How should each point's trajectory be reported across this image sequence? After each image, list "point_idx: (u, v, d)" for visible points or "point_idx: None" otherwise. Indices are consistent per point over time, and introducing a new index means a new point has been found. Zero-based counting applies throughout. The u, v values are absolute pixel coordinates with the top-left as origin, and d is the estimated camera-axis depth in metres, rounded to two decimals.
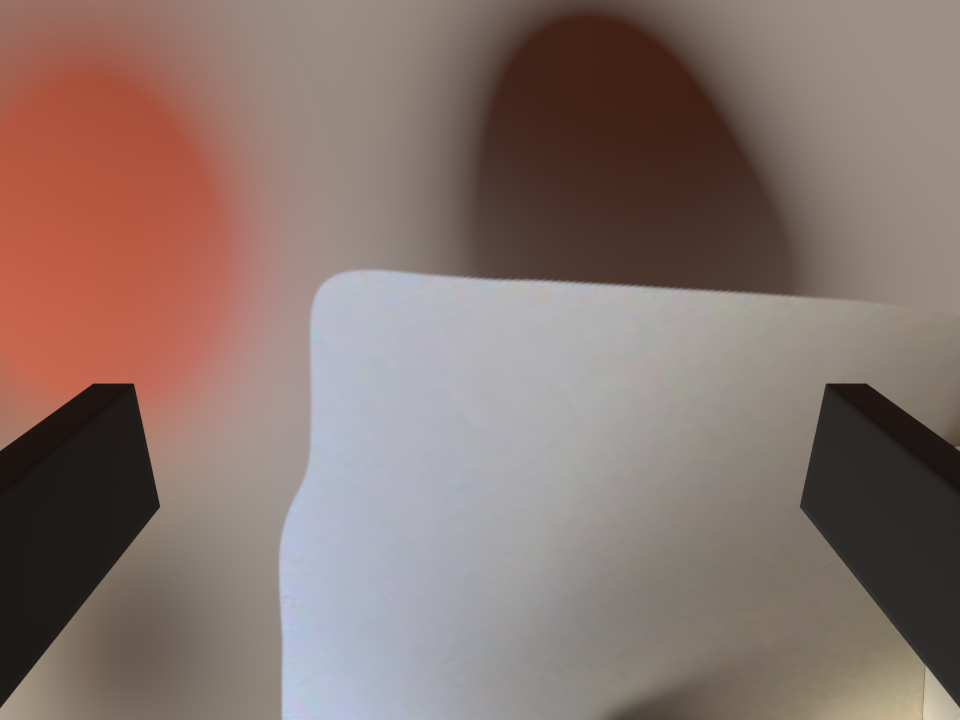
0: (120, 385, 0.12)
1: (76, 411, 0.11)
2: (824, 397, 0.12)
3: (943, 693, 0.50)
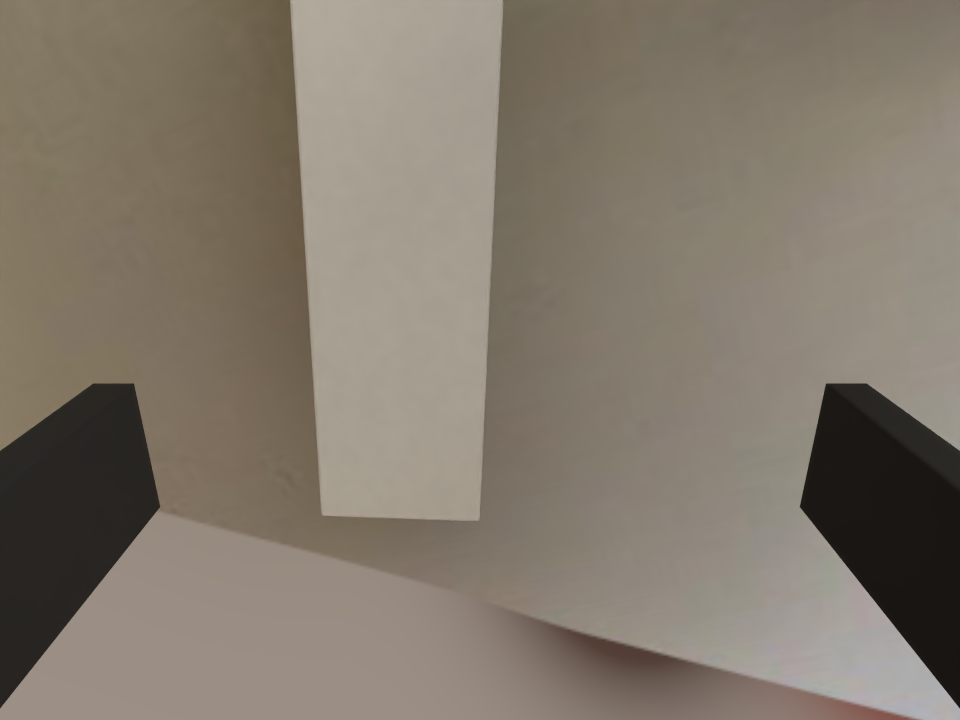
0: (120, 385, 0.12)
1: (76, 411, 0.11)
2: (824, 397, 0.12)
3: None
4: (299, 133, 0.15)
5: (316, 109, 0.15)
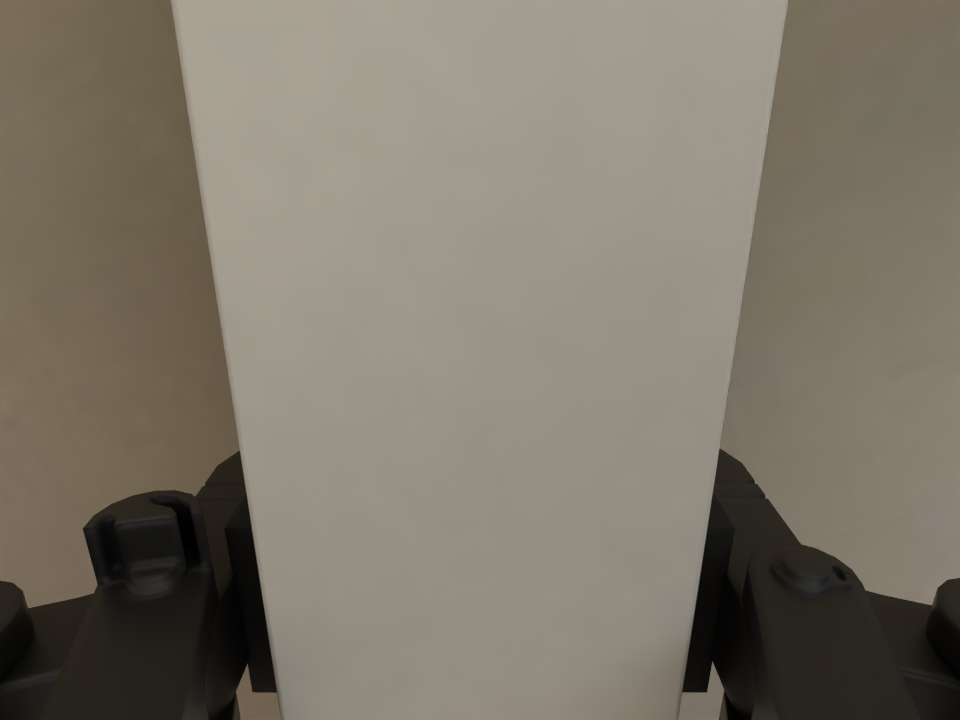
0: None
1: None
2: None
3: None
4: (243, 456, 0.06)
5: (281, 404, 0.06)
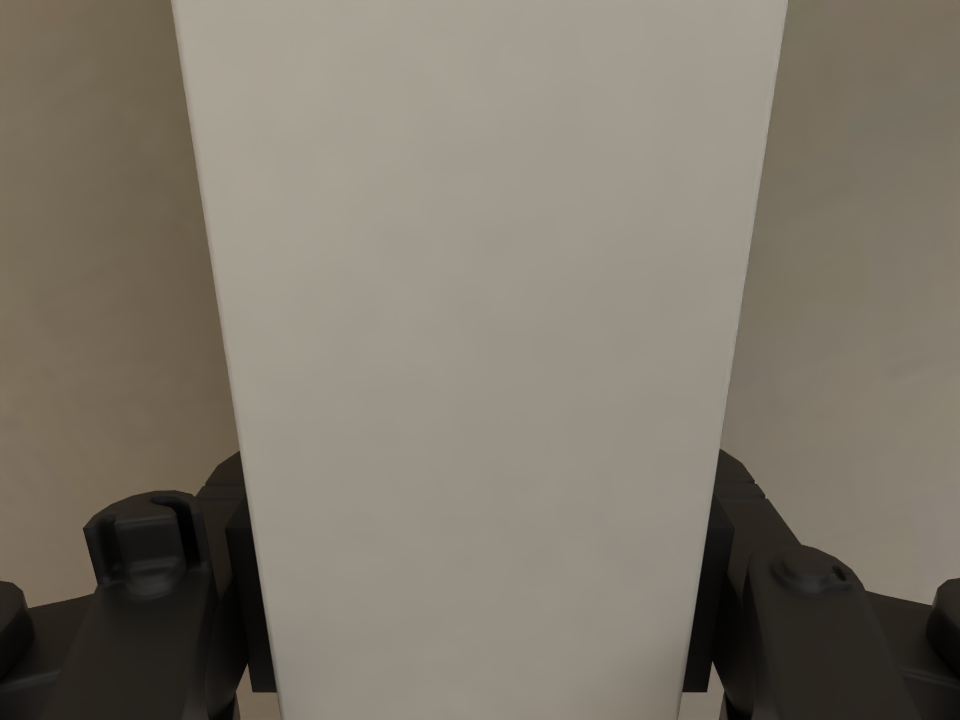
0: None
1: None
2: None
3: None
4: (243, 456, 0.06)
5: (281, 405, 0.06)
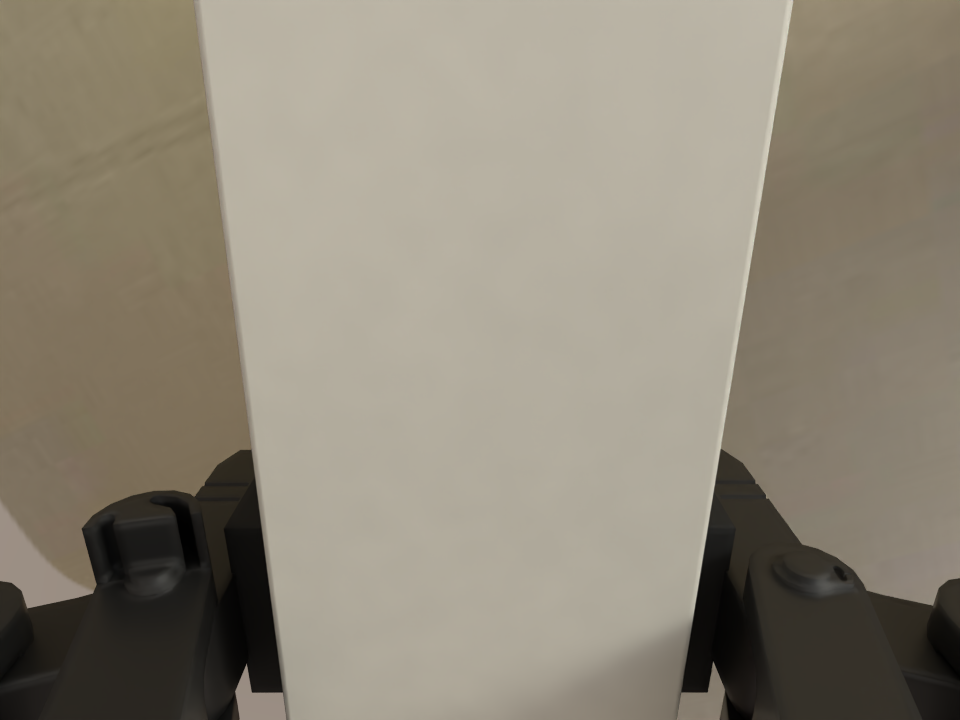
0: None
1: None
2: None
3: None
4: (253, 444, 0.06)
5: (291, 393, 0.06)
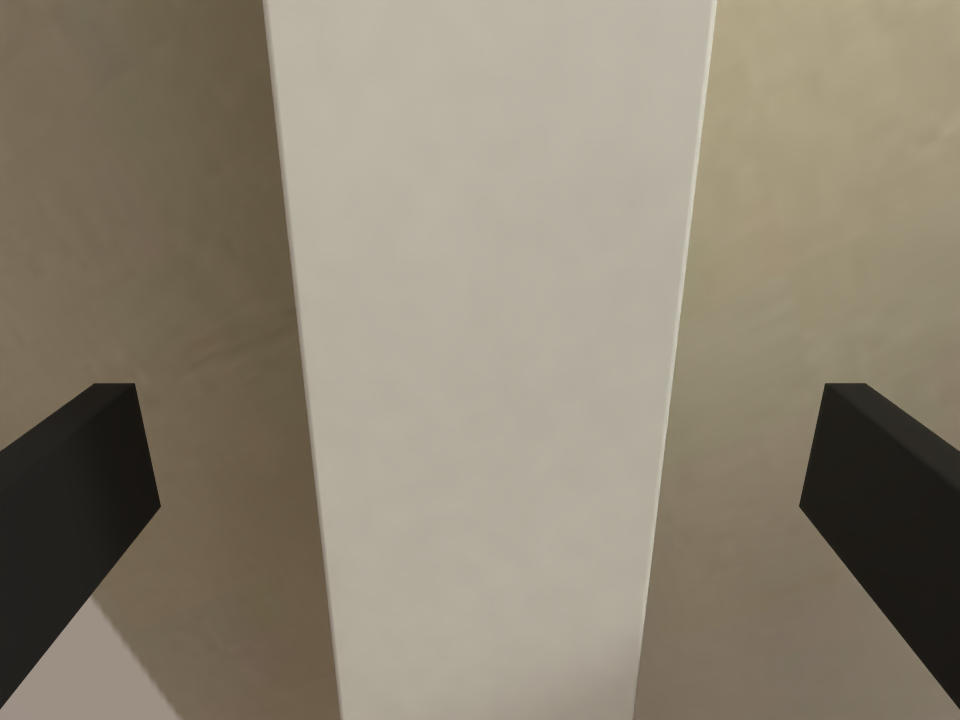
0: (121, 385, 0.12)
1: (77, 410, 0.11)
2: (823, 397, 0.12)
3: None
4: (301, 332, 0.08)
5: (332, 288, 0.08)
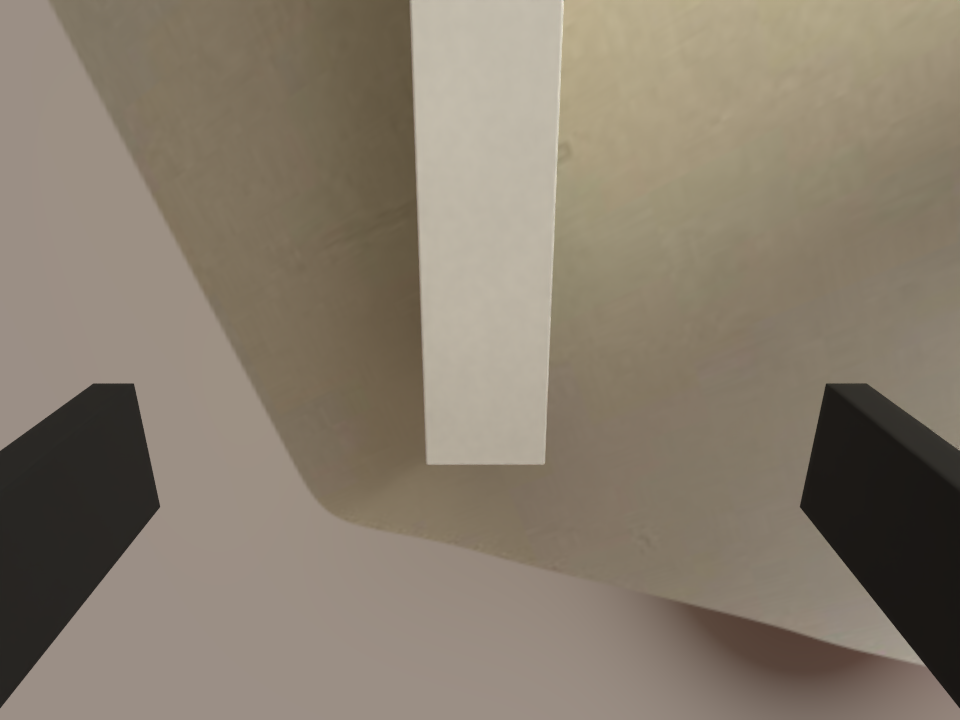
0: (120, 385, 0.12)
1: (76, 411, 0.11)
2: (824, 397, 0.12)
3: None
4: (417, 186, 0.22)
5: (430, 170, 0.22)
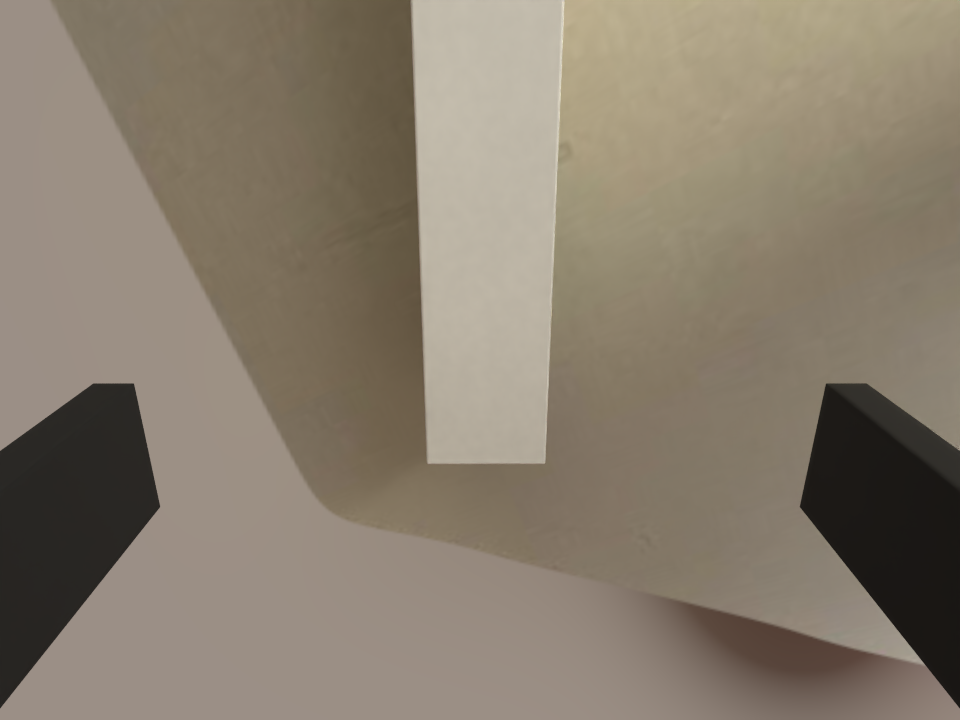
0: (120, 385, 0.12)
1: (76, 411, 0.11)
2: (824, 397, 0.12)
3: None
4: (418, 186, 0.22)
5: (430, 169, 0.22)
